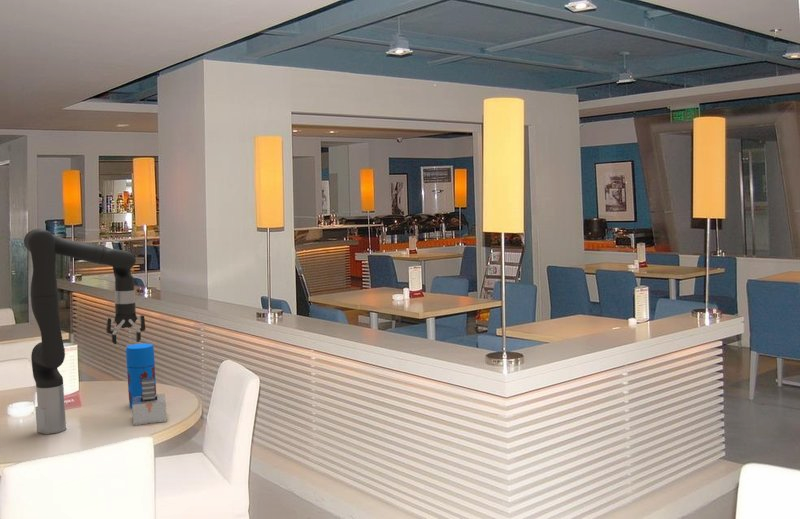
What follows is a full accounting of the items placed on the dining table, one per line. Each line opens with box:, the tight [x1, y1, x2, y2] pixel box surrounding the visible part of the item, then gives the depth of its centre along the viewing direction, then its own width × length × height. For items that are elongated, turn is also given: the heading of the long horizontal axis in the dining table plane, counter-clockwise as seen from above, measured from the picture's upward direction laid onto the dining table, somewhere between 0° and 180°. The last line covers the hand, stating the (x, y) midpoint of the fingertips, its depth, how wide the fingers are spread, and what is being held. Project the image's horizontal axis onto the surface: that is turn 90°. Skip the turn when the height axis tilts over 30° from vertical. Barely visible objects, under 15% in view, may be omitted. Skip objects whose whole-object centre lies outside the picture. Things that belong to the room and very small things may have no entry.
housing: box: [131, 393, 167, 426], centre depth 304 cm, size 13×12×8 cm
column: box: [142, 377, 155, 402], centre depth 304 cm, size 4×4×16 cm
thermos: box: [125, 343, 157, 410], centre depth 323 cm, size 11×11×25 cm
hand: (126, 342), depth 308 cm, fingers open, 8 cm apart
